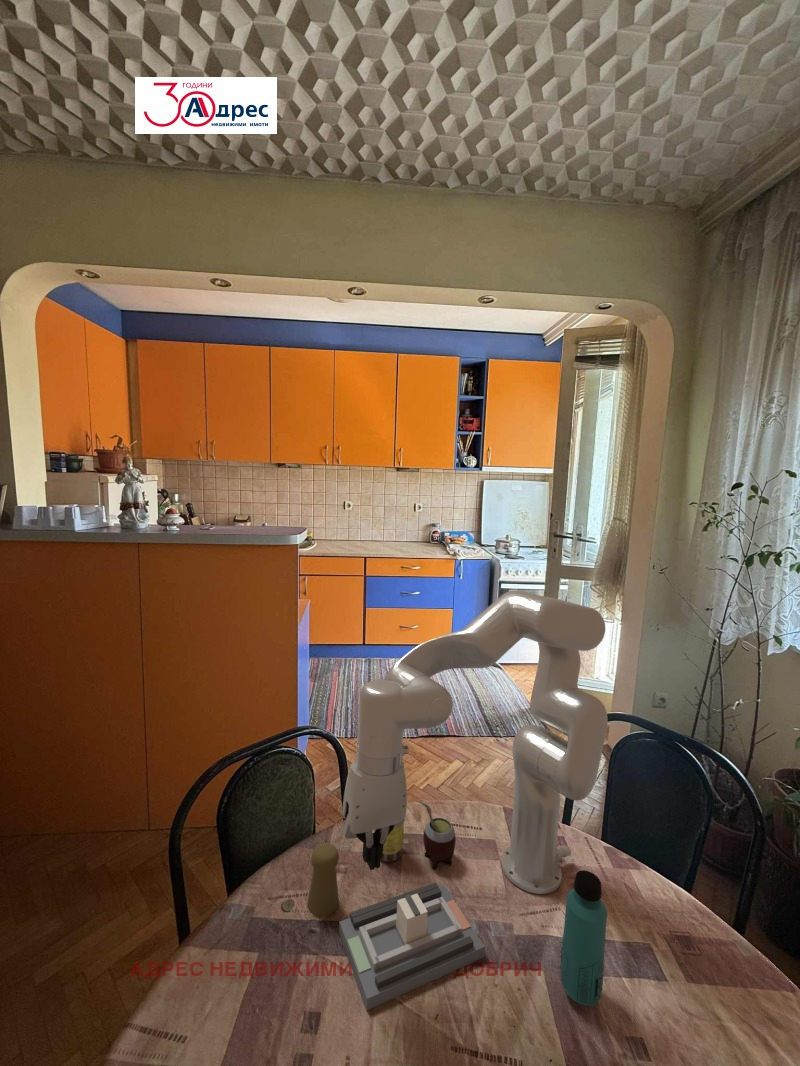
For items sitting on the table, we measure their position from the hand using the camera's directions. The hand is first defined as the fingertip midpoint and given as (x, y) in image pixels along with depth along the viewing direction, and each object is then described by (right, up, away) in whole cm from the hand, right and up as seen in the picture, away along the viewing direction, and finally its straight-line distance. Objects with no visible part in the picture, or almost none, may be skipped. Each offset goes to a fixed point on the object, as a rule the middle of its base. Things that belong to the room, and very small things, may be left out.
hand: (372, 862), depth 77 cm
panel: (+6, -18, +5) cm, 20 cm away
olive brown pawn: (-10, -17, +12) cm, 23 cm away
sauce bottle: (+2, -17, +26) cm, 31 cm away
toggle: (+7, -16, +5) cm, 18 cm away
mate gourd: (+13, -17, +24) cm, 32 cm away
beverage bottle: (+34, -20, -2) cm, 40 cm away
